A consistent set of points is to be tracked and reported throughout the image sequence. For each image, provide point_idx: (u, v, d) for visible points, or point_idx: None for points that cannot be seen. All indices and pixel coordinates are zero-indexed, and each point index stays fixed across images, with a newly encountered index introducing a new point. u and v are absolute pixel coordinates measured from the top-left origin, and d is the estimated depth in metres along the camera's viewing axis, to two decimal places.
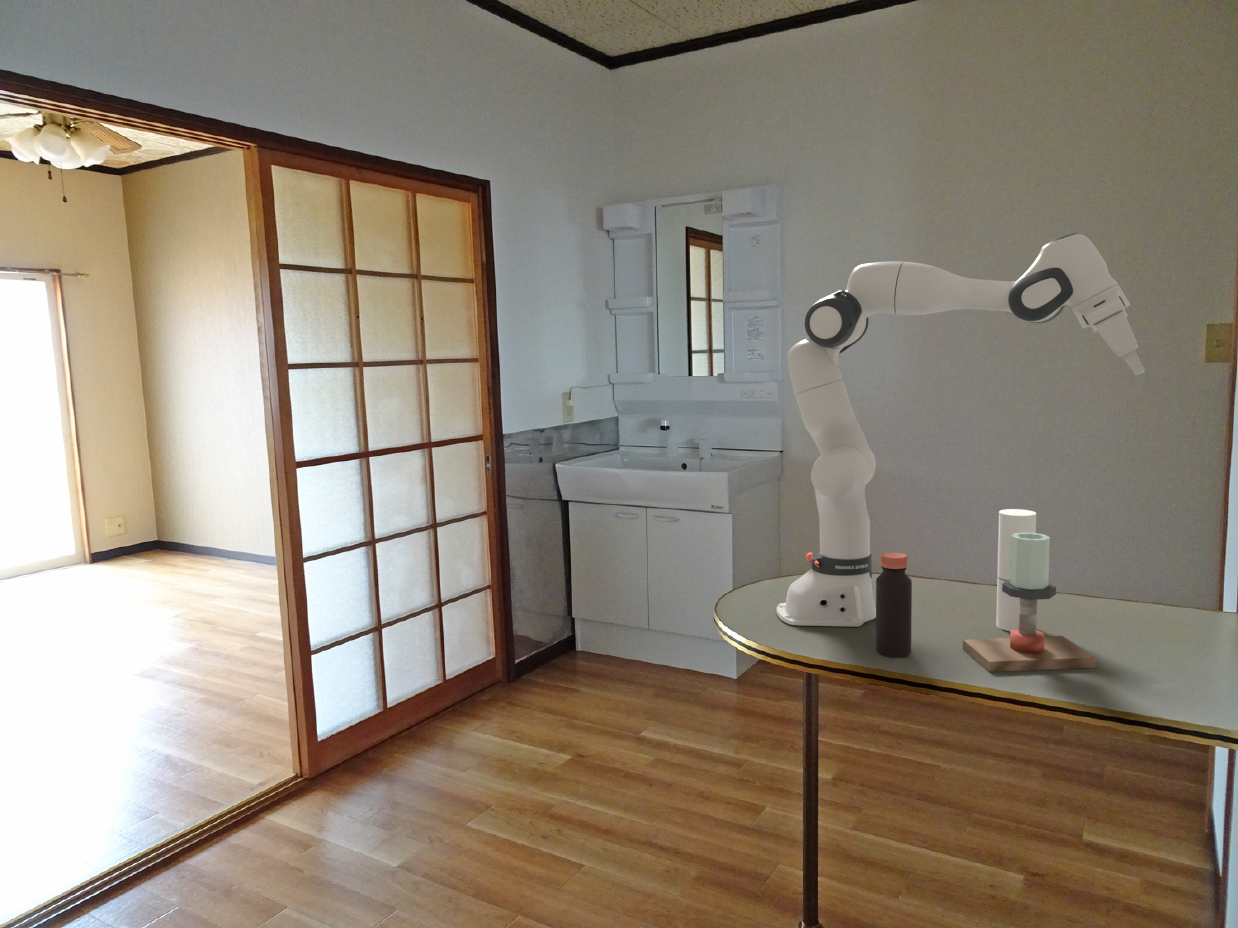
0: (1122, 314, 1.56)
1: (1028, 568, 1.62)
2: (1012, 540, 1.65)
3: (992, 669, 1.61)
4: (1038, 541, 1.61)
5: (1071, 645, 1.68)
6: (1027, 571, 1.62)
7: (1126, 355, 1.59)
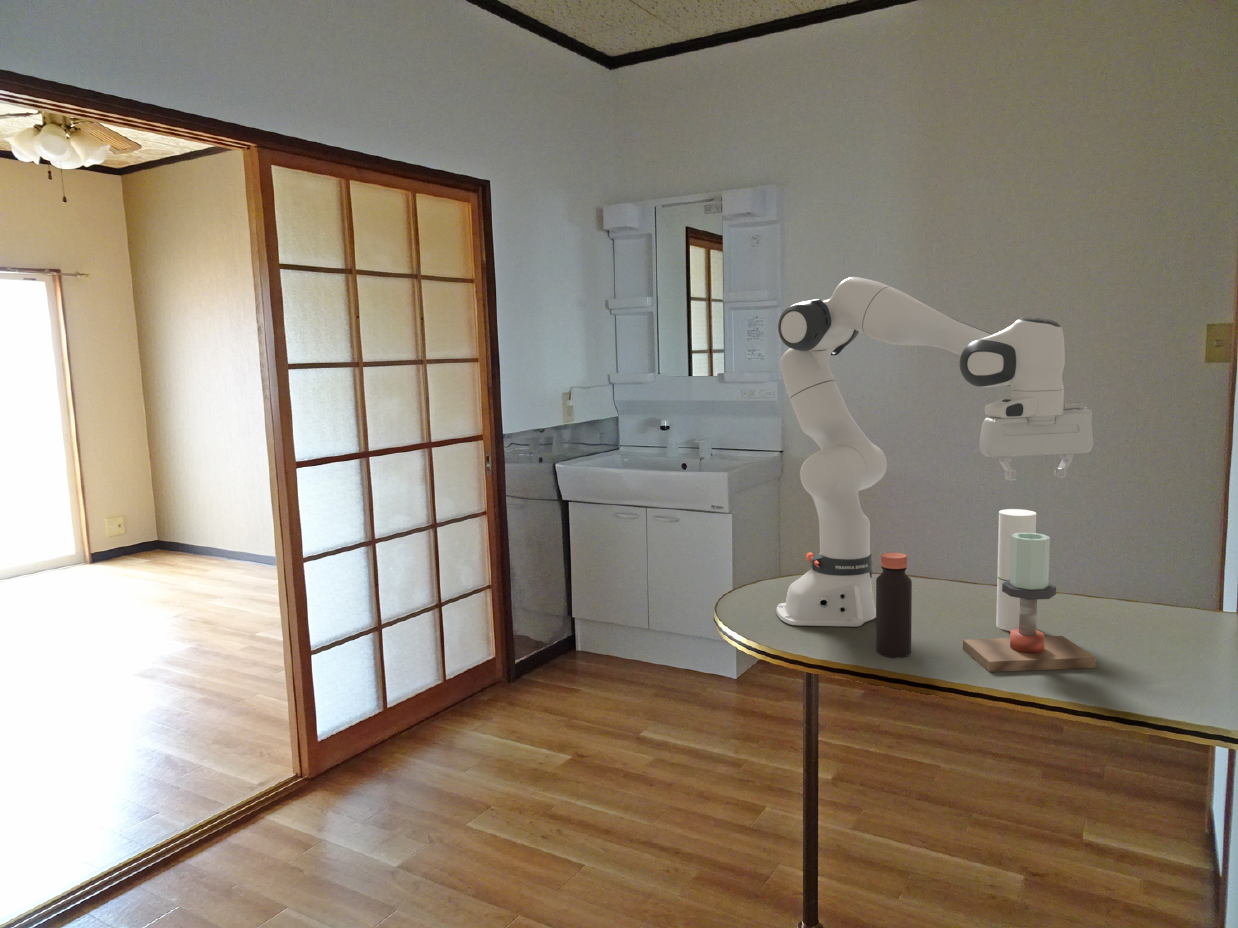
0: (995, 421, 1.59)
1: (1028, 568, 1.62)
2: (1012, 540, 1.65)
3: (992, 669, 1.61)
4: (1038, 541, 1.61)
5: (1071, 645, 1.68)
6: (1027, 571, 1.62)
7: (1000, 457, 1.62)
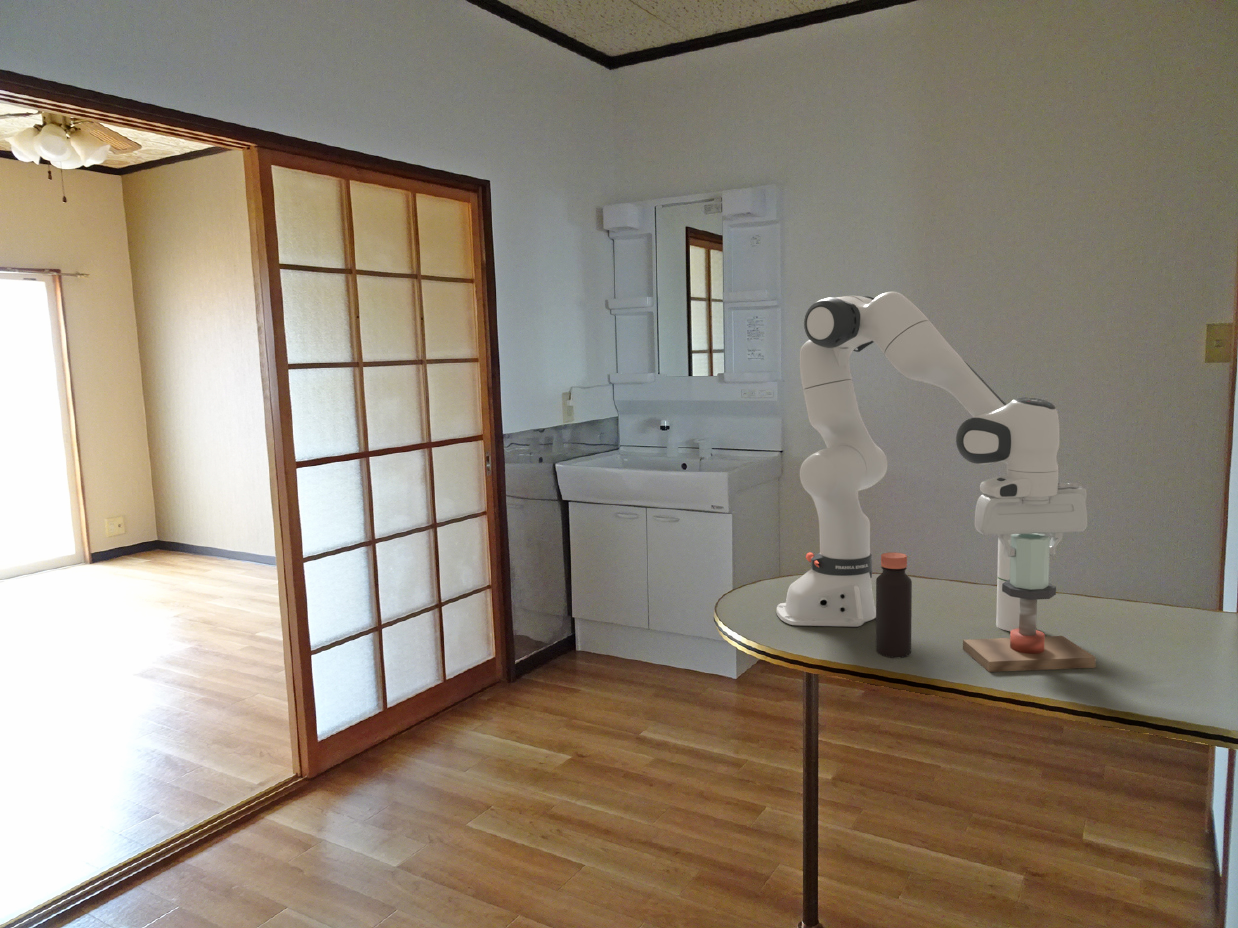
0: (989, 501, 1.61)
1: (1028, 568, 1.62)
2: (1012, 540, 1.65)
3: (992, 669, 1.61)
4: (1038, 541, 1.61)
5: (1071, 645, 1.68)
6: (1027, 571, 1.62)
7: None
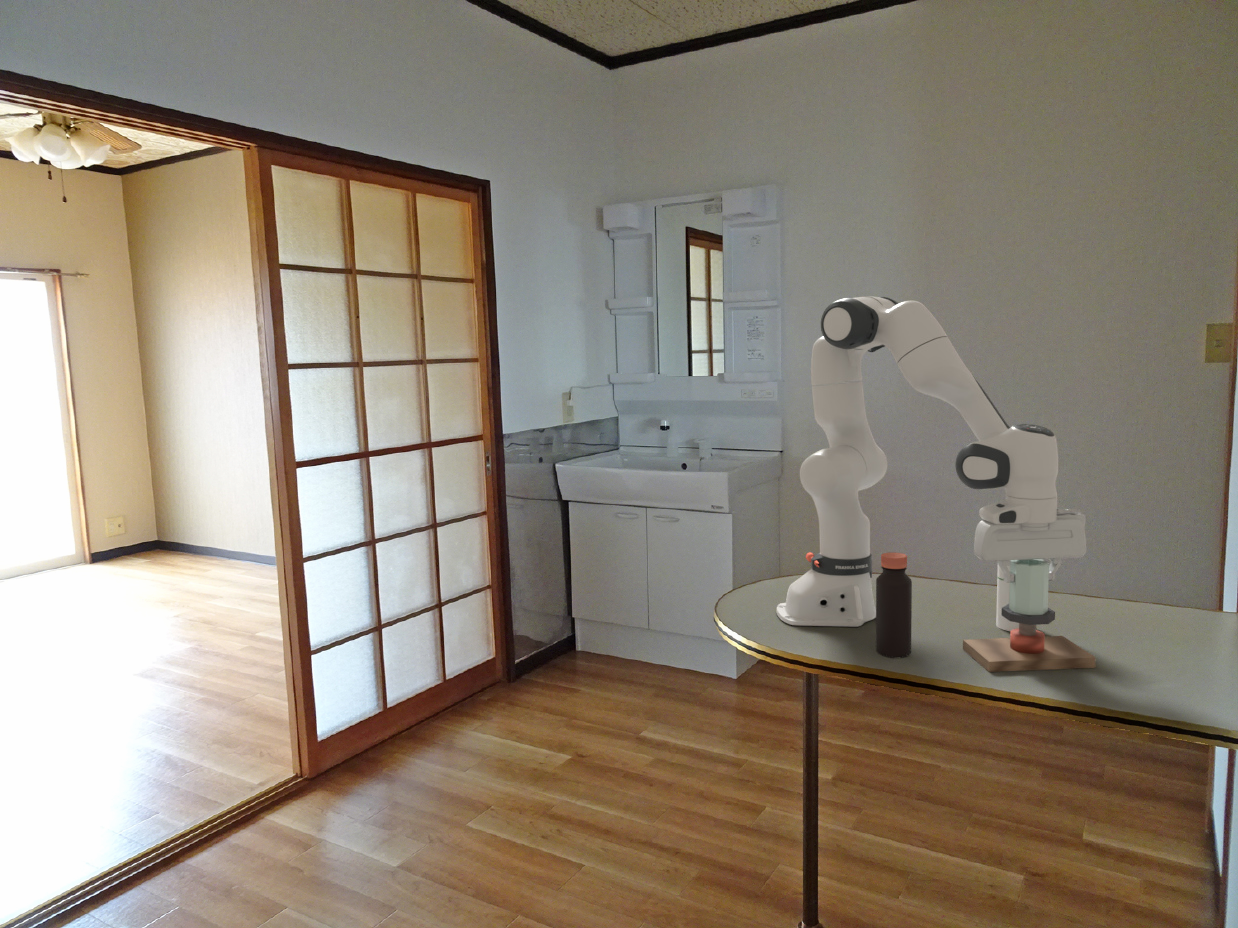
0: (989, 527, 1.62)
1: (1027, 594, 1.63)
2: (1011, 565, 1.65)
3: (992, 669, 1.61)
4: (1037, 567, 1.62)
5: (1071, 645, 1.68)
6: (1026, 597, 1.63)
7: None
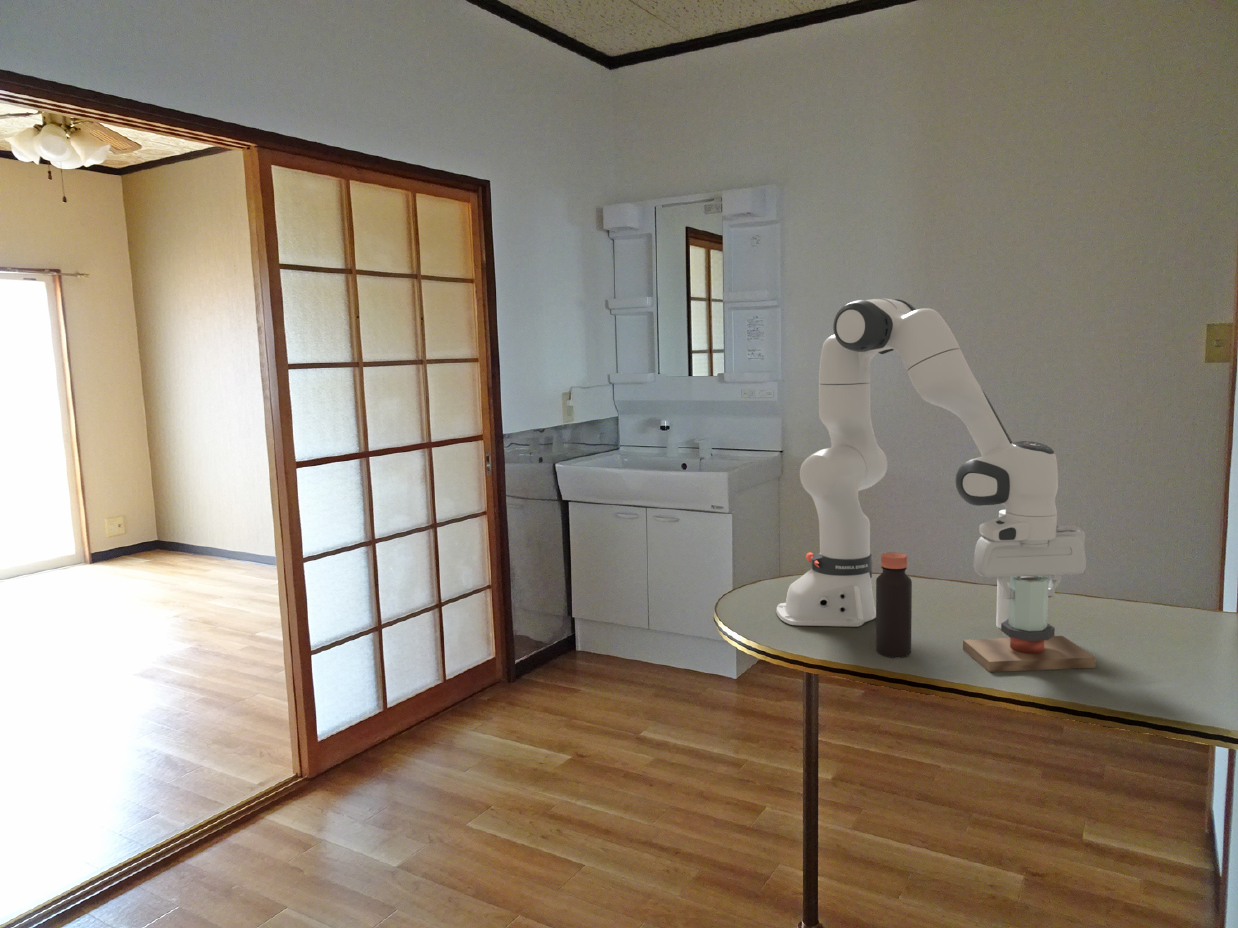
0: (988, 544, 1.62)
1: (1027, 610, 1.63)
2: (1011, 581, 1.66)
3: (992, 669, 1.61)
4: (1037, 583, 1.62)
5: (1071, 645, 1.68)
6: (1025, 613, 1.63)
7: None
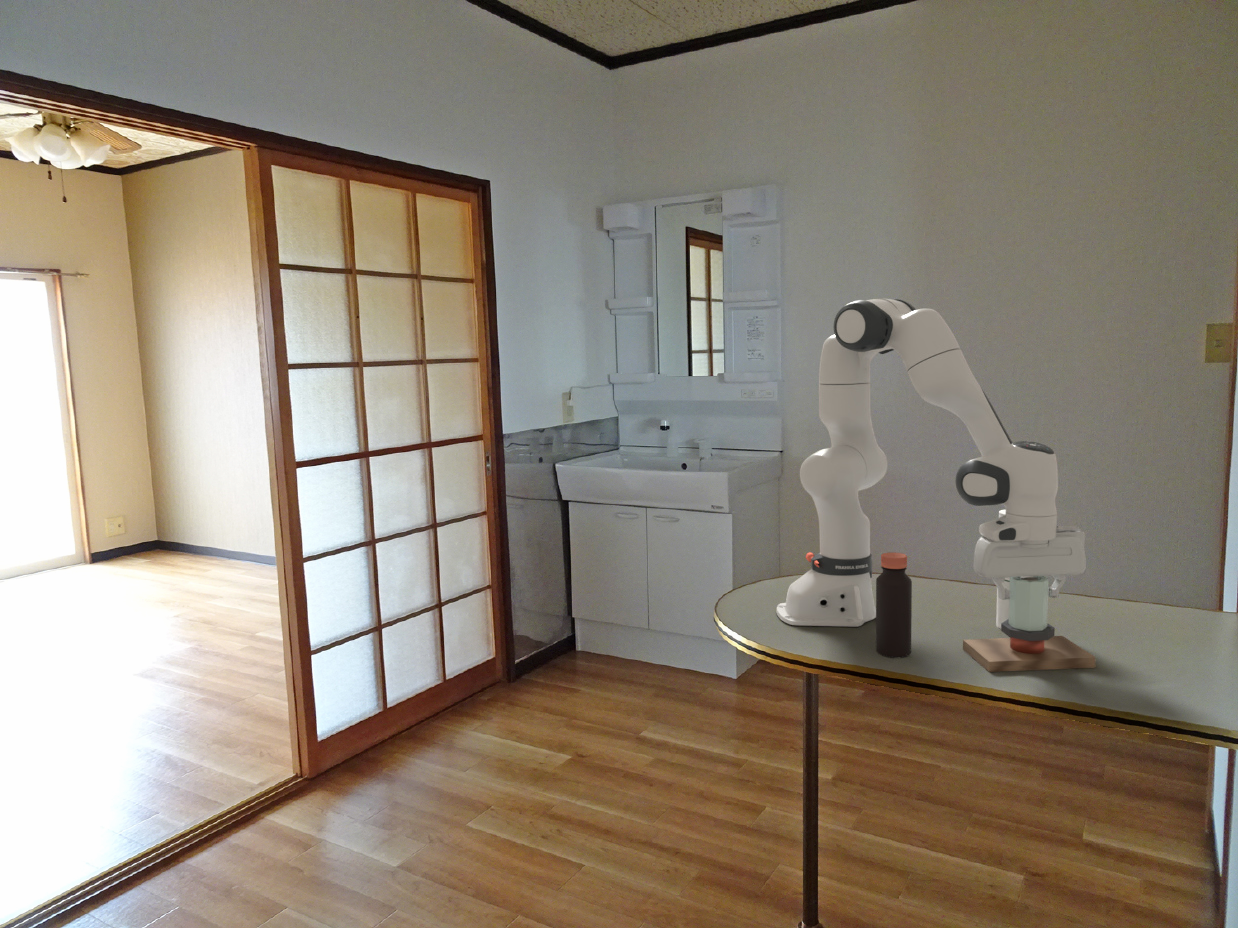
0: (988, 544, 1.62)
1: (1027, 610, 1.63)
2: (1011, 581, 1.66)
3: (992, 669, 1.61)
4: (1037, 583, 1.62)
5: (1071, 645, 1.68)
6: (1025, 613, 1.63)
7: None
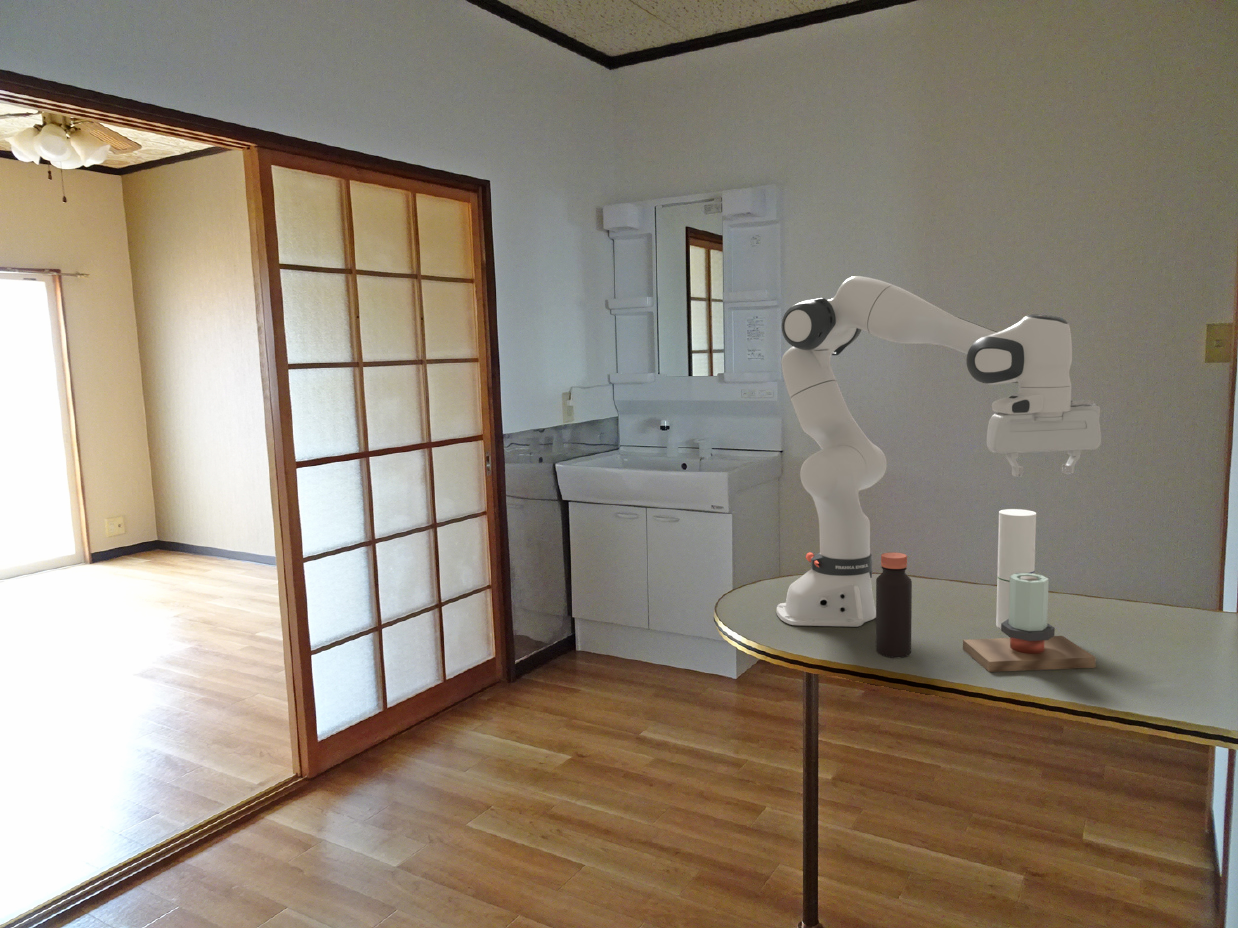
0: (1002, 418, 1.60)
1: (1027, 610, 1.63)
2: (1011, 581, 1.66)
3: (992, 669, 1.61)
4: (1037, 583, 1.62)
5: (1071, 645, 1.68)
6: (1025, 613, 1.63)
7: (1007, 453, 1.63)
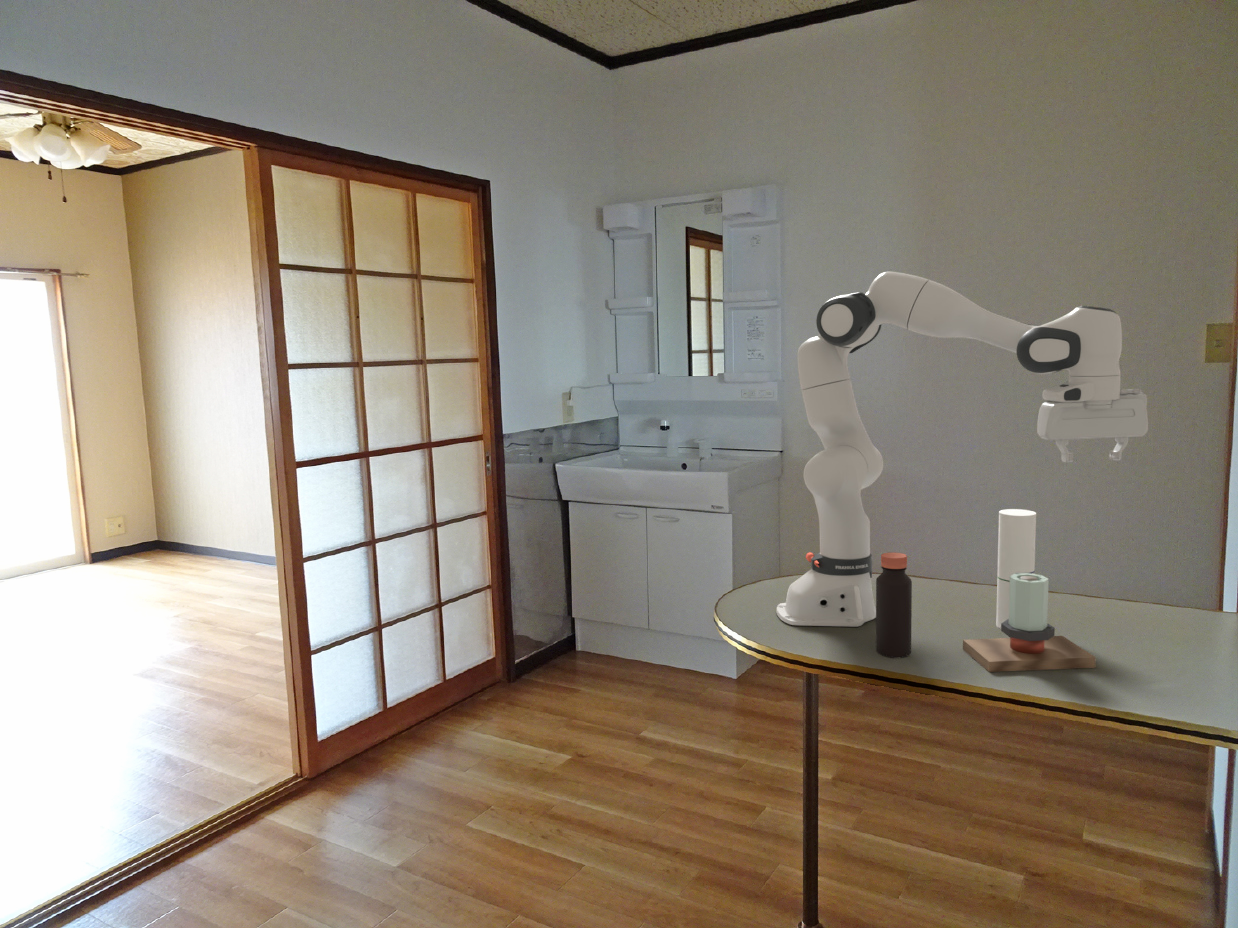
0: (1053, 405, 1.65)
1: (1027, 610, 1.63)
2: (1011, 581, 1.66)
3: (992, 669, 1.61)
4: (1037, 583, 1.62)
5: (1071, 645, 1.68)
6: (1025, 613, 1.63)
7: (1057, 440, 1.69)
